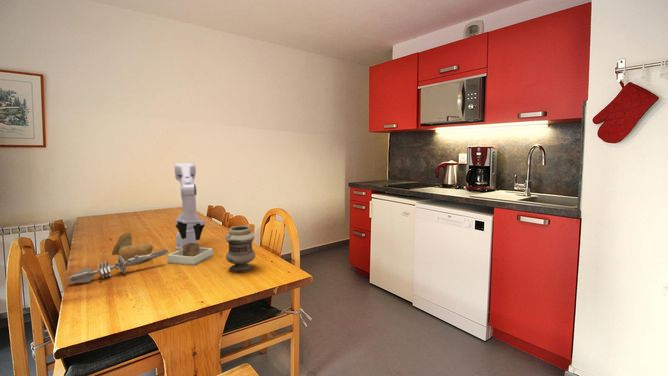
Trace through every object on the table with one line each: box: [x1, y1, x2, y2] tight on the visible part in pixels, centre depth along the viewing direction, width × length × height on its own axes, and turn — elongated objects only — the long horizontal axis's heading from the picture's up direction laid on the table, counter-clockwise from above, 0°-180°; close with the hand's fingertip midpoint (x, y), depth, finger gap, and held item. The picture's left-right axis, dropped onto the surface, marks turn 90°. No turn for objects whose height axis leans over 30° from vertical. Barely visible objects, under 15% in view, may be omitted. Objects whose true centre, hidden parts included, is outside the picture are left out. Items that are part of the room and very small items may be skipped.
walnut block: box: [182, 242, 200, 257], centre depth 151 cm, size 5×5×6 cm
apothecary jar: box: [225, 225, 256, 274], centre depth 138 cm, size 12×12×18 cm
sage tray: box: [166, 246, 214, 266], centre depth 151 cm, size 14×14×4 cm
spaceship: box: [67, 249, 169, 284], centre depth 133 cm, size 8×35×8 cm
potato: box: [117, 242, 154, 262], centre depth 148 cm, size 10×14×8 cm
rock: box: [111, 231, 133, 255], centre depth 162 cm, size 10×8×10 cm
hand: (190, 239), depth 151 cm, fingers open, 7 cm apart
